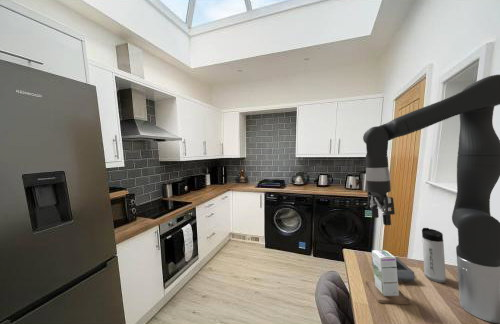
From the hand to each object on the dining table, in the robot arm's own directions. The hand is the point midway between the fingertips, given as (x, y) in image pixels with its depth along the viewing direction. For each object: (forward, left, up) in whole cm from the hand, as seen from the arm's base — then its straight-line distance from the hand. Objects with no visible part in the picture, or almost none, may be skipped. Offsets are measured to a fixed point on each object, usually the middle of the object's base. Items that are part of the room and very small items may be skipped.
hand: (380, 221), depth 69 cm
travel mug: (-24, -11, -28) cm, 39 cm away
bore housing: (-9, -13, -28) cm, 32 cm away
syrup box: (0, 0, -27) cm, 27 cm away
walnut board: (0, 0, -28) cm, 28 cm away
